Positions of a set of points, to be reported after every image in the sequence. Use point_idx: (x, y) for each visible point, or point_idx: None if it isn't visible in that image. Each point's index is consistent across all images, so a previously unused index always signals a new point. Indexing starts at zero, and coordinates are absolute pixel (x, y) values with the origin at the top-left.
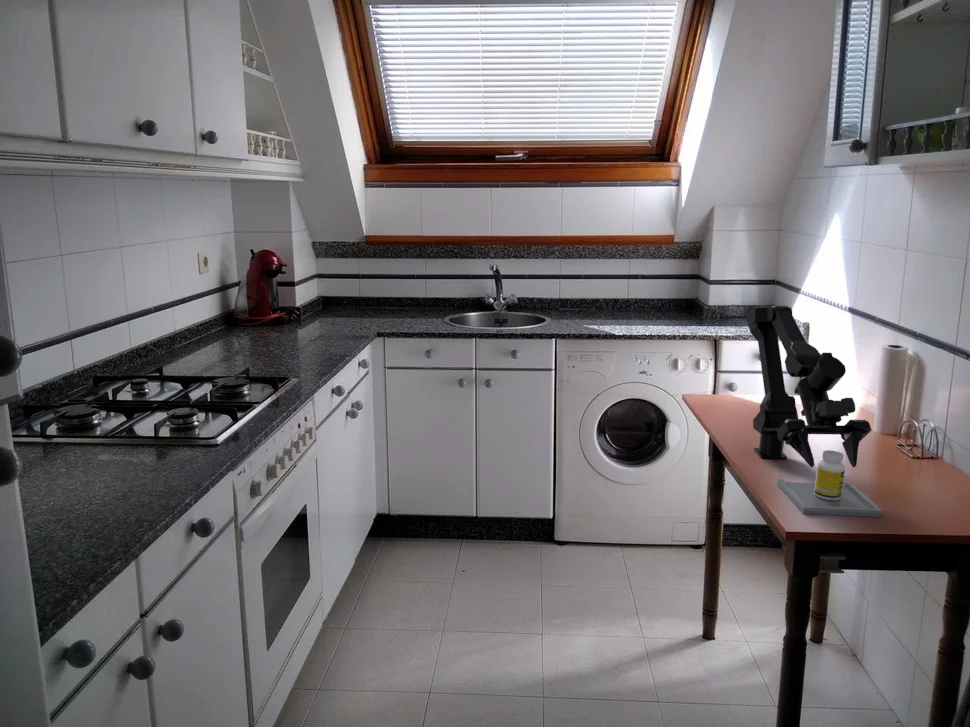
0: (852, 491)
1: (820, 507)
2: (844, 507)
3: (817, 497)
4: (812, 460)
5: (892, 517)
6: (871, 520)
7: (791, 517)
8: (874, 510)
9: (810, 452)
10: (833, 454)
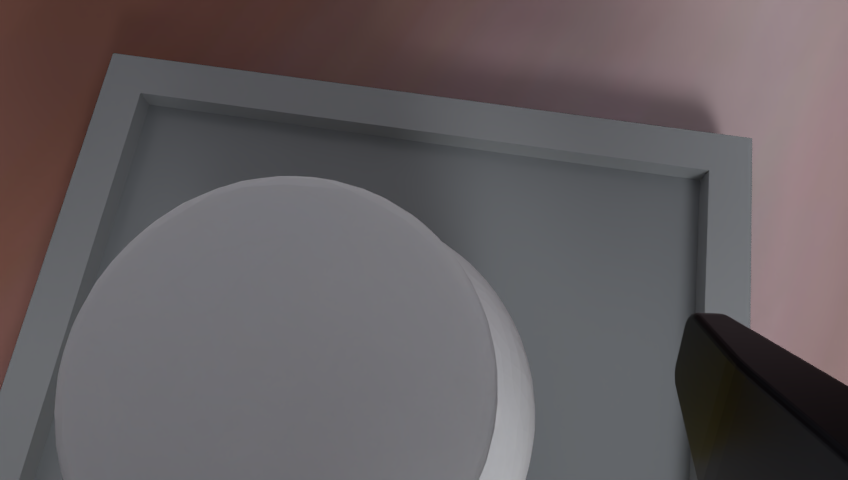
0: None
1: (605, 127)
2: (392, 123)
3: None
4: (749, 338)
5: (53, 75)
6: (253, 36)
7: (843, 107)
8: (175, 61)
9: (845, 433)
10: (322, 296)
